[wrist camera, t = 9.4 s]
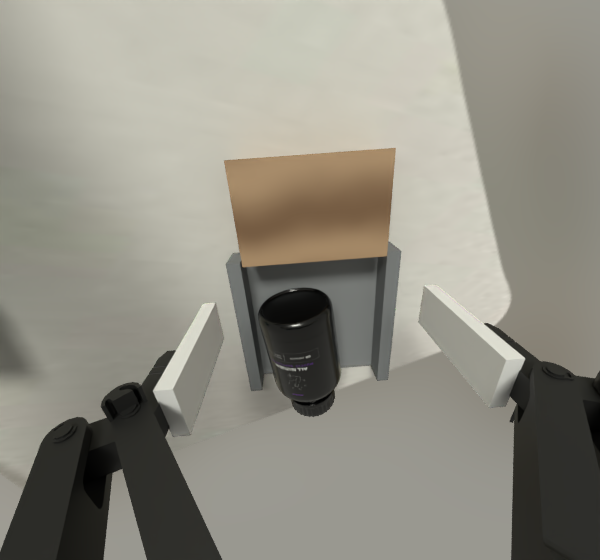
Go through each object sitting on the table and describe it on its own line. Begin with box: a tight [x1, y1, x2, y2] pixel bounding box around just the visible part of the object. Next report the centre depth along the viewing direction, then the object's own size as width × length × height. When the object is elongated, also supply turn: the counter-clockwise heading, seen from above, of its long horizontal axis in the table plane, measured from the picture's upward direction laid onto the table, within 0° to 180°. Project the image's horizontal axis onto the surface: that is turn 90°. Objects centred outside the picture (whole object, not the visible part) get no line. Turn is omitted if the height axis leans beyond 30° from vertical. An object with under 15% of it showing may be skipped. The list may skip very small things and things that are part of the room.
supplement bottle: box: [258, 287, 341, 417], centre depth 25 cm, size 7×7×12 cm
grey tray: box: [226, 241, 401, 391], centre depth 26 cm, size 15×15×3 cm
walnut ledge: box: [224, 148, 396, 267], centre depth 21 cm, size 8×12×4 cm, turn 94°
